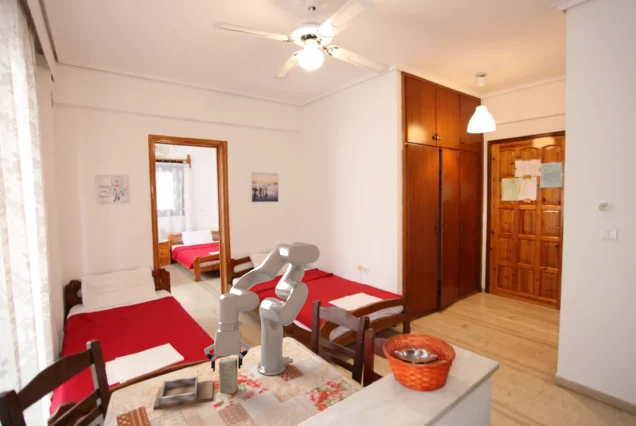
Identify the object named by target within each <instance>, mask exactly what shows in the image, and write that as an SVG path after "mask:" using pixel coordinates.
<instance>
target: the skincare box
mask: <svg viewBox="0 0 636 426" xmlns="http://www.w3.org/2000/svg"><path fill="white" fill-rule="evenodd" d="M218 365H219V366H218V378H219V379H218V380H219V381H218V382H219V384H218V386H219V393H224V394H235V393H236V391H237V390H238V386H239V384H238V383H239V382H238V377H239V375H238V372H239V371H238V370H239V368H238V358H237V357H222V358H221V360H219V362H218Z"/></svg>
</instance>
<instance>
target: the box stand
mask: <svg viewBox="0 0 636 426" xmlns="http://www.w3.org/2000/svg"><path fill="white" fill-rule="evenodd" d="M213 383H214V381H213V379H212V380H205V381H199V376H191V377H184V378H176V379H169V380H163V383H162V386H161V387H160V386H159V387H158V390H157V393H156V397H155V400H154V403H153V410H157V409H158V410H159V409H163V408H171V407H175V406H176V407H177V406H184V405H190V404H195V403H204V402H209V401H213Z"/></svg>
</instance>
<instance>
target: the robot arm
mask: <svg viewBox="0 0 636 426" xmlns="http://www.w3.org/2000/svg"><path fill="white" fill-rule="evenodd" d="M320 254H321V253H320V248H319V247H318V246H317V245H316V244H311V243H304V242H300V241H293V242H291V243H290V244H287V243H278V244H276V245H275V246H274V247H273V248H272V249H271V251H270V252H269V253H268V255H267V256H266V257H265V258H264V260H263V261H262V262H261V263H260V264H259V266H257V267H255V268H254V269H252V270H250V271H249V272H246V273H245V274H244V275H242V276H241V277H240V278H238V280H237V281H236V282H235V283H234V284H233V285H232V287H231V288H230V290H229V292H224V293H222V294H221V295H220V296H219V303H218V325H217V327H216V329H215V332H214V333H215V334H214V343H212V344H210V345H209V346H207V347H205V348H204V350H203V352H204V354H205V356H206V357H207V359H209V361H210V362H211V363H210V368H211V369H212V372H215V371H216V359H217V358H218V357H225V356H226V357H227V356H236V355H237V356H238V358H237V367H238V370H241V366H243V359H244V357H245V356H246V355H247V354H248V352H249V350H250V348H251V346H250V344H248V343H246V342H243V341H242V337H241V336H242V335H241V327H240V326H242V325H243V321H240V320H239V315H240V312H250V311H252V310H255V309H256V308H257V307H258V306H259V310H258V311H259V312H258V313H259V318H260V325H261V328H260V331H261V332H260V337H261V338H260V339H261V340H260V361H259V362H258V364H257V366H256V369H257V370H256V371H257V372H259V373H260V374H262V375H264V376H277V375H280V374H281V373H283V372H284V371H285V370H286V368H287V367H286V365H287V364H293V363H294V359H293V358H292V357H291V358H290V357H289V356H284V355H283V351H284V348H283V346H284V345H283V343H284V342H283V341H284V335H283V334H284V327H287V326H290V325H291V324H293V322H295V319H296V318H297V317H298V315H299V313H300V311H301V310H302V308H303V306H304V305H305V303H306V301H307V299H308V296H309V287H308V286H307V284H306V283H305V282H303V281H302V279H303V278H304V276H305V266H304V265H309V264H314V263H315V262H317V261H318V260H319V257H320ZM285 265H287V267H286V268H287V269H286V270H285V271H284V273H283V274H282V276H281V278H280V280H278V283H277V284H276V286H275V289H274V292H275V295H276V296H277V297H278V298H276V297H266V298H264V299H263V300H261V303H260V297H259V295H258V294H257V293H256V292H254V291H251V290H250V289H252V288H253V287H254V286H255V285H259V284H261V283H265V282H270V281H273V280H275V278H276V277H277V275H278V274H279V273H280V272H281V270H282V269H283V267H285ZM279 298H280V299H279ZM242 347H243V348H244V350H243V351H242ZM212 350H213V353H212V354H211V352H210V351H212Z"/></svg>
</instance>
